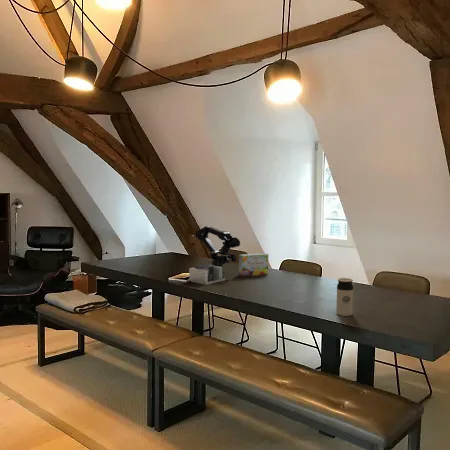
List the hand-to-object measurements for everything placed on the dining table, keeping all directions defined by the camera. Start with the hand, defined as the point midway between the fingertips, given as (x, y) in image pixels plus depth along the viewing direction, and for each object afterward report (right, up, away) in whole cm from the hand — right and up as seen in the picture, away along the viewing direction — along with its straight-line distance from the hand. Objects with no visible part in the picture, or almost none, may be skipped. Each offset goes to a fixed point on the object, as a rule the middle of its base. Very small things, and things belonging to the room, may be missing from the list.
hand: (219, 266), depth 346 cm
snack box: (+24, -7, +12) cm, 28 cm away
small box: (-10, -9, -12) cm, 18 cm away
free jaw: (-4, -8, -5) cm, 10 cm away
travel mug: (+65, -17, -92) cm, 113 cm away
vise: (-9, -9, -11) cm, 16 cm away
